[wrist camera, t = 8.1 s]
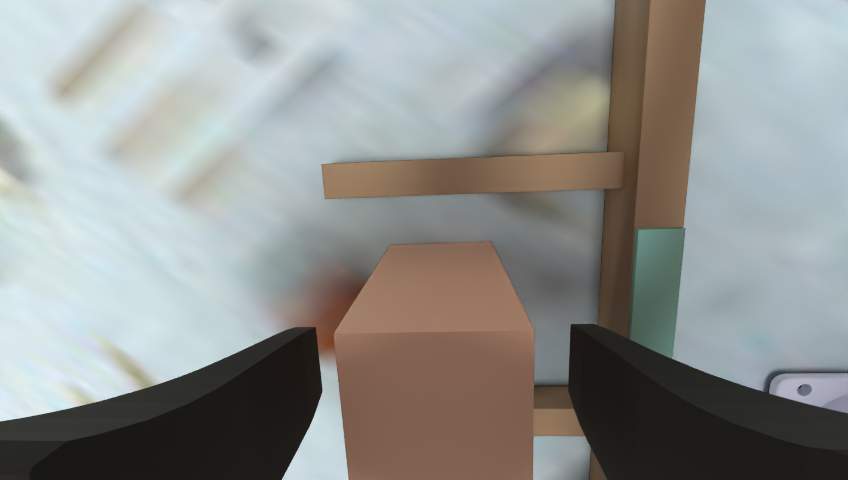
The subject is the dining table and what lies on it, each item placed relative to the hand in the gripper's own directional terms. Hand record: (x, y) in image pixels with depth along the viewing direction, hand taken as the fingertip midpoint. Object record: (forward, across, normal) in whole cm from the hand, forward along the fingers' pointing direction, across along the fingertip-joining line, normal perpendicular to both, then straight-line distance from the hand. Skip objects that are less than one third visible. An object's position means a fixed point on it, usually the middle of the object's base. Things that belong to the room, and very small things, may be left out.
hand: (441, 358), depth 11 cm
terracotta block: (+5, 0, 0) cm, 5 cm away
